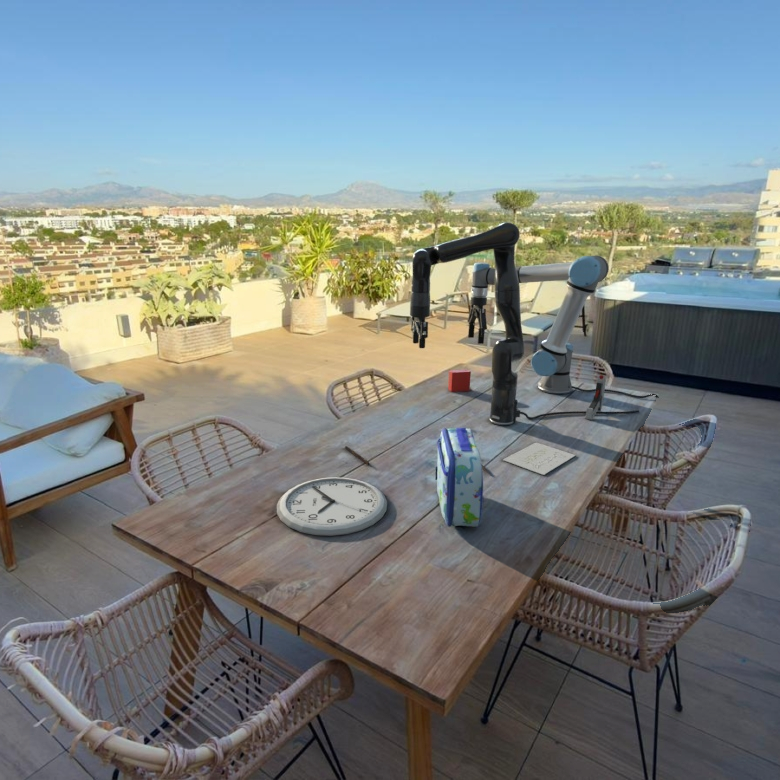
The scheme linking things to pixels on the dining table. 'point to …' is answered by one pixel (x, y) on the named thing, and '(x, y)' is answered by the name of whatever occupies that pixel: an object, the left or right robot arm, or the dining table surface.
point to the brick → (459, 380)
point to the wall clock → (331, 506)
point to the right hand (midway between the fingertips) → (475, 340)
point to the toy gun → (597, 398)
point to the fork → (484, 469)
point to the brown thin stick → (357, 455)
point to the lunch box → (459, 478)
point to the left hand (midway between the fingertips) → (418, 345)
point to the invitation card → (539, 458)
